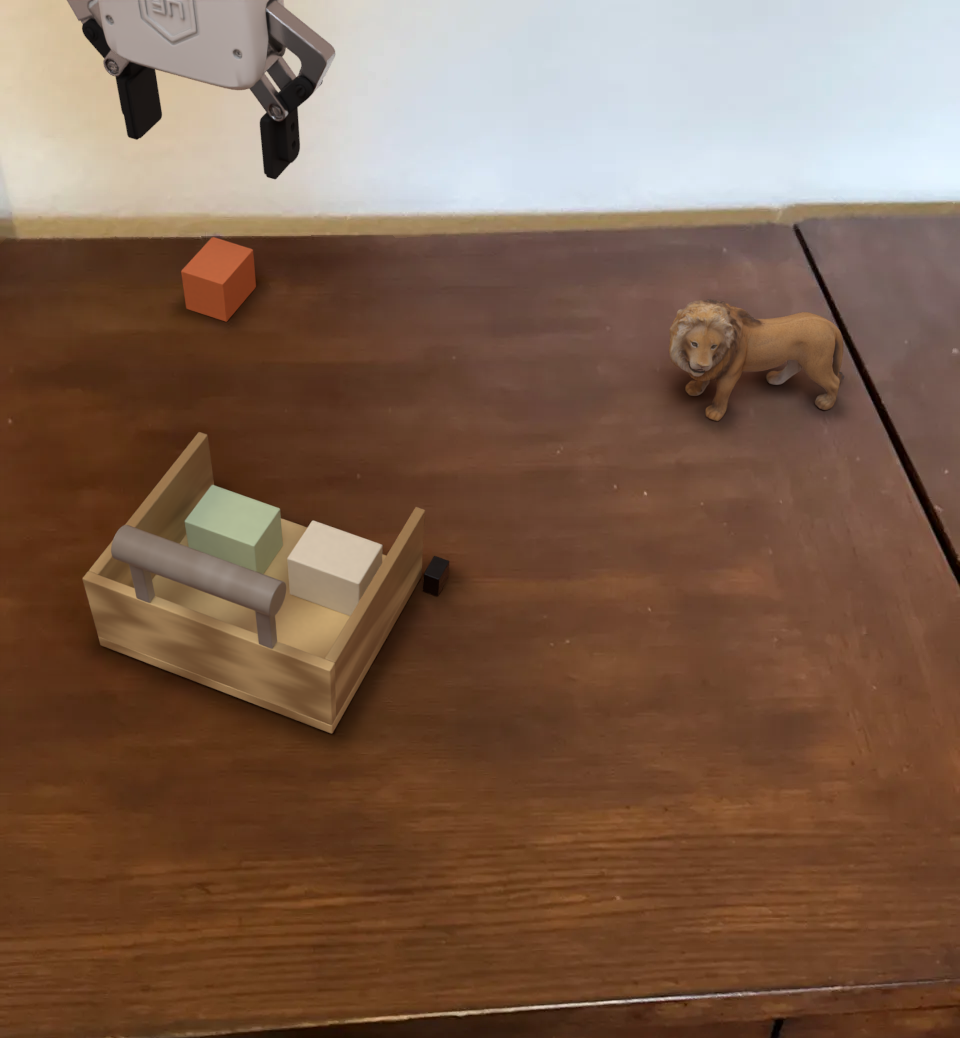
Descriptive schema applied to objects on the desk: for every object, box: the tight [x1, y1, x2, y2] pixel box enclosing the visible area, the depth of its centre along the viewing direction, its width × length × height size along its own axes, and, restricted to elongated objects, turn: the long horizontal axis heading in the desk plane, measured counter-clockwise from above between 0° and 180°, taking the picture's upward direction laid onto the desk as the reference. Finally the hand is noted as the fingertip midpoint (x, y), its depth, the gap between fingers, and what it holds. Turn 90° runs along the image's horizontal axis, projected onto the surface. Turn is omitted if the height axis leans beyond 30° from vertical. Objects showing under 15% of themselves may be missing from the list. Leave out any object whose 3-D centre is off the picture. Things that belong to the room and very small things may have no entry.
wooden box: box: [82, 431, 426, 734], centre depth 68 cm, size 14×13×11 cm
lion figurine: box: [668, 298, 845, 422], centre depth 83 cm, size 15×5×9 cm, turn 110°
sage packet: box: [185, 484, 283, 574], centre depth 72 cm, size 4×3×3 cm
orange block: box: [180, 236, 257, 323], centre depth 88 cm, size 4×3×3 cm
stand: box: [422, 555, 450, 597], centre depth 75 cm, size 17×2×2 cm, turn 68°
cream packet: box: [287, 520, 383, 616], centre depth 71 cm, size 4×3×3 cm
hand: (212, 147), depth 80 cm, fingers open, 9 cm apart
